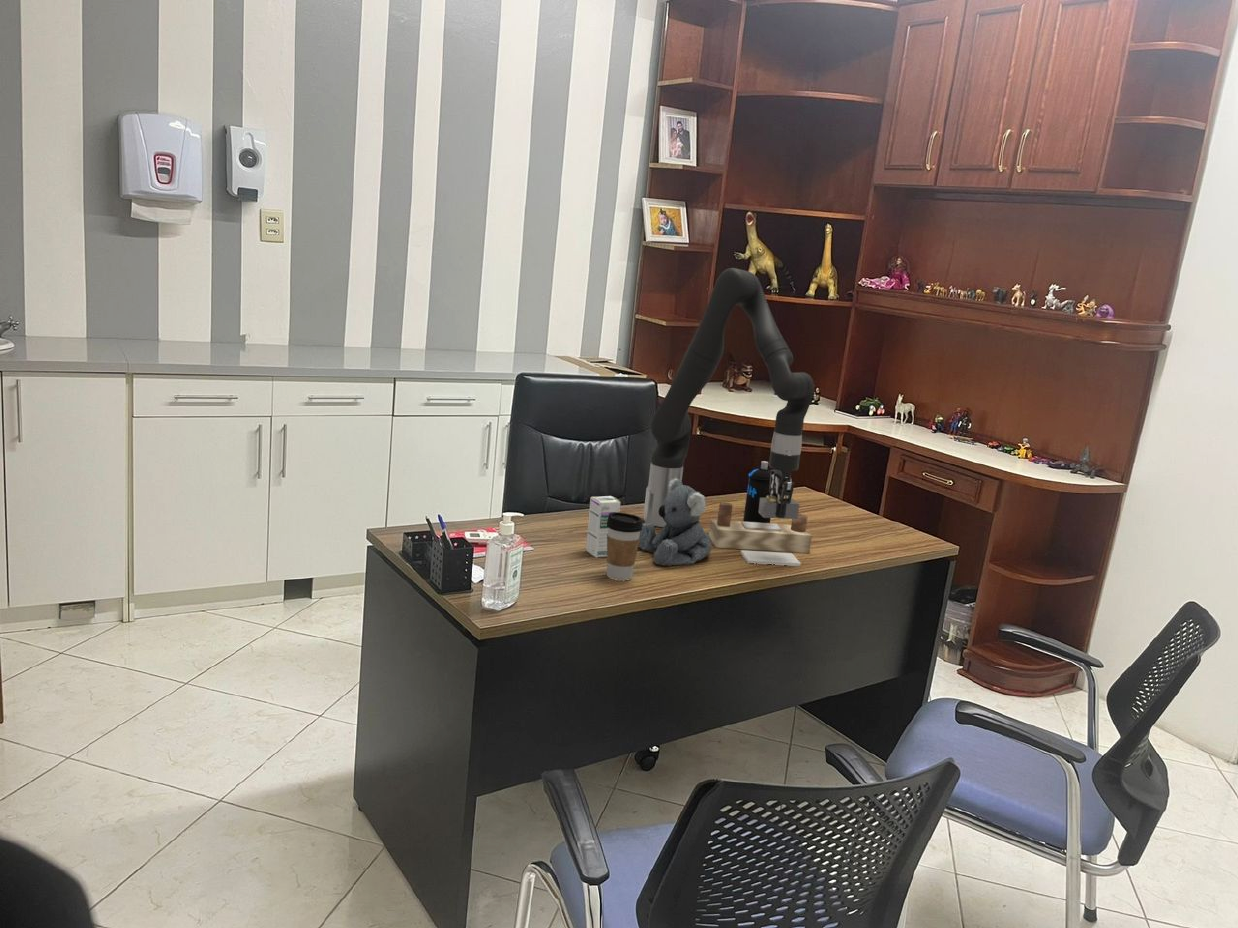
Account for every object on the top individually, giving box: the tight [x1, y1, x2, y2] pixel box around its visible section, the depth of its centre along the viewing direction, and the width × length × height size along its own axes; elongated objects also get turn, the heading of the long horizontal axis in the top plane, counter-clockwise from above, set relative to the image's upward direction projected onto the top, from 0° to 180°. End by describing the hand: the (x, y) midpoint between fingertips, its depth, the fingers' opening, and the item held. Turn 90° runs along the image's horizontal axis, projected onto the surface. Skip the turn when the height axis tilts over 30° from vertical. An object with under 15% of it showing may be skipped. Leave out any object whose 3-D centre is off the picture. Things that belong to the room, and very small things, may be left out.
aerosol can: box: [742, 460, 772, 523], centre depth 273 cm, size 8×8×20 cm
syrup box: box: [585, 495, 621, 559], centre depth 239 cm, size 6×6×14 cm
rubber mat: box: [740, 549, 801, 567], centre depth 249 cm, size 14×8×1 cm, turn 96°
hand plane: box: [708, 501, 813, 554], centre depth 260 cm, size 26×9×11 cm, turn 96°
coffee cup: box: [606, 512, 643, 581], centre depth 224 cm, size 8×8×15 cm
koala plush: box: [638, 478, 712, 567], centre depth 243 cm, size 17×18×20 cm
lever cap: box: [758, 496, 800, 520], centre depth 246 cm, size 9×5×5 cm, turn 97°
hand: (777, 514), depth 247 cm, fingers closed on lever cap, 5 cm apart
